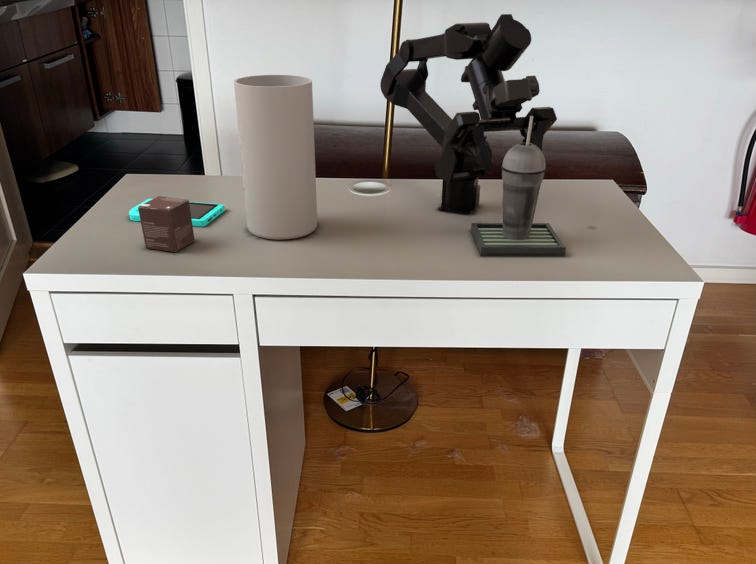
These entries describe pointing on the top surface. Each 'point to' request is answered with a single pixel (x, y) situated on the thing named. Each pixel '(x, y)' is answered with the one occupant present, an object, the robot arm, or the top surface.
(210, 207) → the handheld game console
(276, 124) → the cylinder vase
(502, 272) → the top surface
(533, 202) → the beverage cup
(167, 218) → the box
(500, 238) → the drying rack
